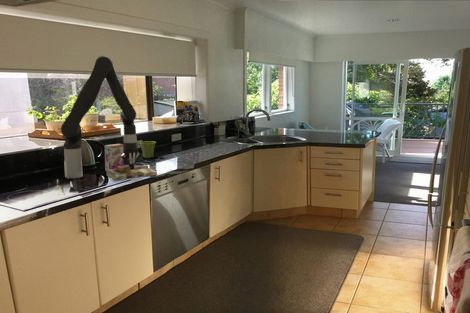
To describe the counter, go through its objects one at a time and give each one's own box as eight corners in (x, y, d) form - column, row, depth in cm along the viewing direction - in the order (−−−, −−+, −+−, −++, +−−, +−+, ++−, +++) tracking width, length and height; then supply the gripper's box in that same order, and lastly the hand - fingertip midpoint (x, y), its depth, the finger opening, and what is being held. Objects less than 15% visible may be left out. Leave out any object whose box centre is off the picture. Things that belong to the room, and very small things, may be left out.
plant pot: (139, 156, 304) (138, 141, 302) (155, 155, 307) (154, 140, 305) (140, 159, 293) (140, 143, 291) (157, 158, 296) (156, 143, 294)
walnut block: (120, 173, 238) (120, 168, 237) (117, 171, 243) (117, 166, 242) (130, 172, 241) (130, 166, 241) (126, 170, 246) (126, 165, 245)
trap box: (114, 180, 230) (114, 172, 229) (106, 175, 241) (106, 168, 241) (156, 174, 245) (156, 167, 244) (147, 170, 256) (147, 163, 255)
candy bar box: (109, 172, 250) (108, 146, 247) (105, 171, 254) (103, 145, 250) (124, 169, 259) (123, 144, 256) (120, 168, 262) (119, 143, 259)
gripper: (121, 143, 235) (123, 172, 238) (143, 141, 242) (144, 169, 246) (117, 141, 241) (119, 169, 244) (138, 139, 248) (139, 167, 252)
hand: (131, 169), depth 245 cm, fingers closed
